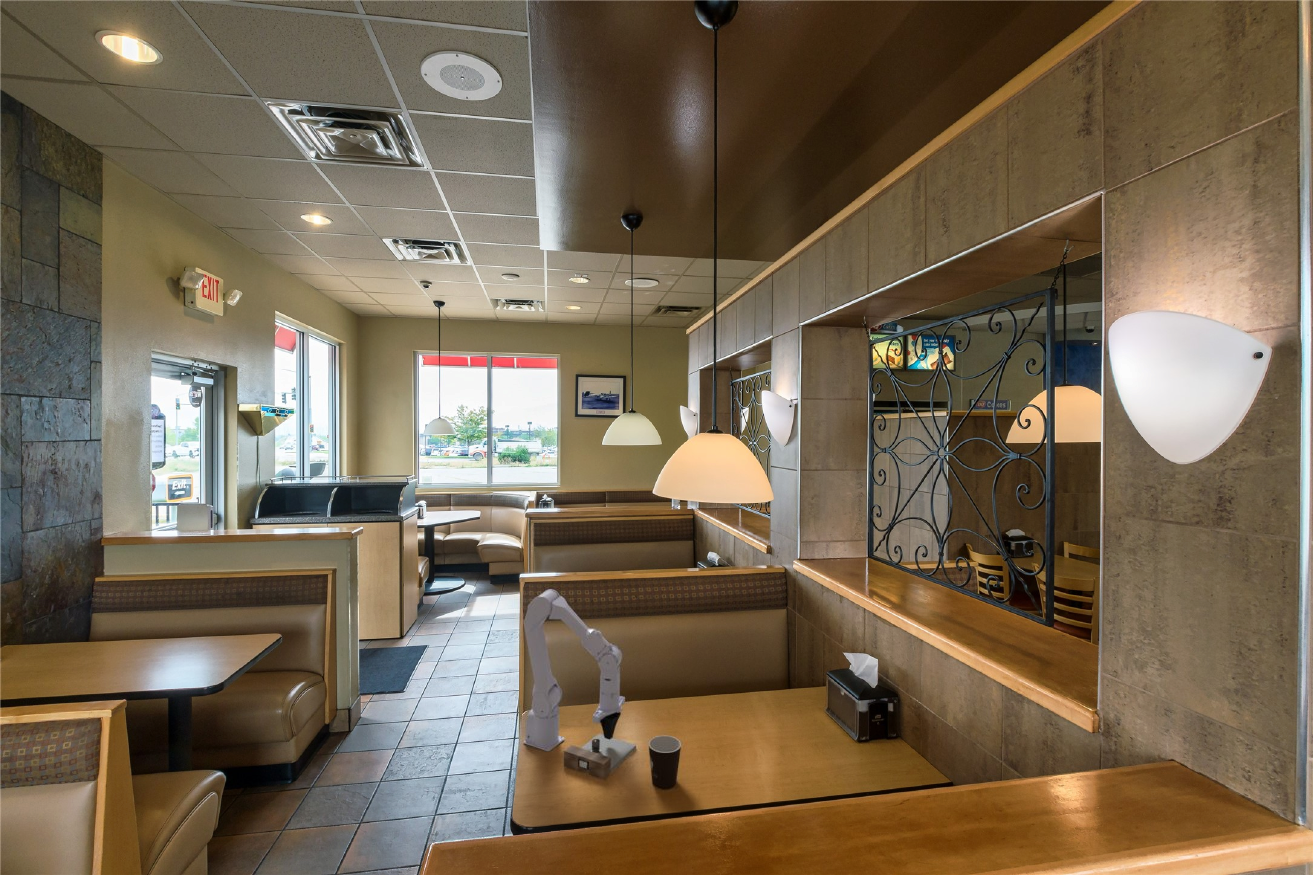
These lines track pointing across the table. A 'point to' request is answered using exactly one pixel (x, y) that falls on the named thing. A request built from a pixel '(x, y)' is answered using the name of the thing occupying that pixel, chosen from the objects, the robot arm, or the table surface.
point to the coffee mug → (664, 761)
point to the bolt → (594, 749)
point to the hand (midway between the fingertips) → (608, 737)
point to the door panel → (612, 749)
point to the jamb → (597, 762)
